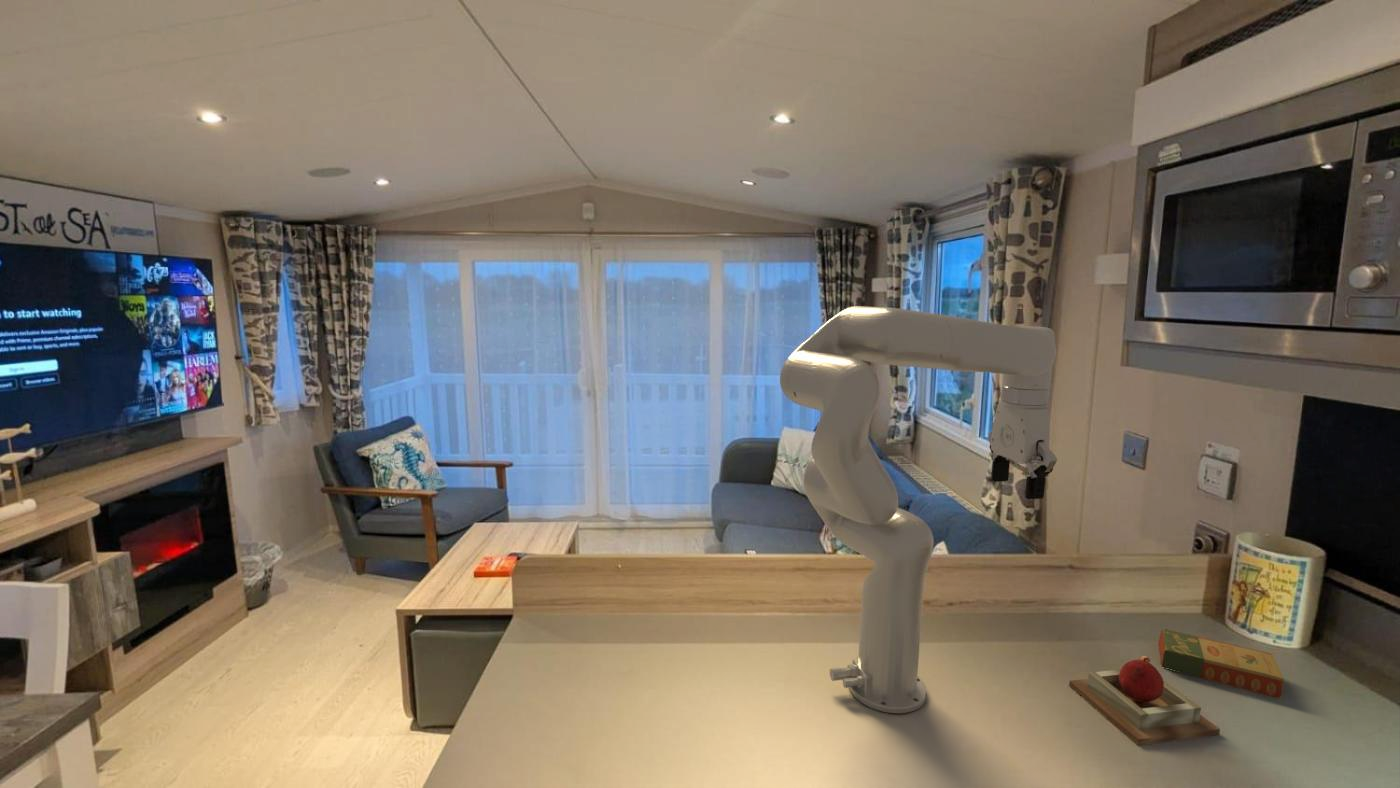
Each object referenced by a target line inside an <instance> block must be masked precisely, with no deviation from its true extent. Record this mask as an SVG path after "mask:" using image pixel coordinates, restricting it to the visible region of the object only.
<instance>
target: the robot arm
mask: <svg viewBox="0 0 1400 788" xmlns="http://www.w3.org/2000/svg"><path fill="white" fill-rule="evenodd" d="M1056 356H1057V346H1056V335H1055V332H1054V330H1053V329H1052V328H1049V327H1046V326H1037V325H1036V326H1035V325H1034V326H1033V325H1032V326H1031V325H1019V326H1016V325H1007V324H1000V323H993V322H987V321H981V320H977V319H974V318H973V319H971V318H966V317H961V316H953V315H947V314H939V313H932V312H924V311H919V310H912V309H905V308H899V307H898V308H897V307H887V306H886V307H885V306H884V307H882V306H866V305H864V306H863V305H854V306H849V307H846V308H845V309H842V310H841V311H840V312H838V313H837V314H835V315H834V316H833V317H831V318H830V319H829V320H827V321H826V322H825V323H824V324H823V325H822V326H820V327H819V329H817V330H816V331H814V333H812V335H811V336H810V337H808V338H807V339H806V340H805V341H804V342H802V343H801V344H800V345H799V346H798V347H796V349H795V350H794V351H792V353H791V354H790V355H789V356H788V358H787V359H786V360H785V362H784V363H783V365H782V368H781V371H780V374H779V384H780V388H781V391H782V393H783V395H785V397H786V398H787V399H788V400H789V401H791V402H792V403H794V404H797V405H799V406H802V407H805V408H809V409H813V410H817V411H818V412H819V411H820V412H822V413H821V416H820V417H819V421H818V424H817V426H816V429H815V432H814V436H813V437H812V442H811V445H810V446H811V455H812V458H811V459H810V460H809V462H808V463H807V465H806V467H805V471H804V475H803V487H804V491H805V494H806V497H807V499H808V500H809V502H810V504H811V506H812V507H813V508H814V510H815V511H816V512H817V514H818V515H819V517H820V518H821V519H822V521H823V523H824V524H825V525H826V527H827V528H828V530H829V531H830V533H831V534H832V536H834V538H835V539H836V540H837V541H838V542H840V543H841V544H843V545H844V546H845V547H847V548H849V549H851V550H853V551H855V552H856V553H858V554H860V555H862V556H863V557H865V558H867V559H869V560H870V561H871V562H872V564H873V568H872V570H871V571H870V572H869V574H868V575H867V576H866V577H865V578H864V580H863V583H862V588H861V597H860V600H861V601H860V622H859V641H858V657H852V664H848V665H847V667H836V668H835V667H834V668H832V667H831V668H830V669H829V676H830V679H831V681H833V682H835V681H842V686H843V688H844V689H846V688H847V689H849V691H850V693H851V695H852V696H853V697H854V698H855V699H856V700H858V701H859V702H860V703H861V704H863V705H865V706H867V707H869V708H870V709H874V710H875V711H878V712H879V711H880V712H883V713H889V714H905V713H906V714H907V713H911V712H914V711H917V710H918V709H920V708H921V707H923V705H924V704H925V702H926V699H927V687H926V685H925V683H924V681H923V680H922V679H921V677H919V675H918V673H919V671H918V670H919V656H920V655H919V654H920V645H921V644H920V642H921V640H920V639H921V626H922V614H923V613H922V612H923V599H924V586H925V580H926V576H927V572H928V569H929V568H928V567H929V564H930V560H931V557H932V554H933V550H934V535H933V533H932V530H931V528H930V527H929V525H928V524H927V523H926V522H925V521H924V520H922V519H921V518H920V517H919V516H917V515H916V514H913V513H911V512H909V511H907V510H905V509H902V508H900V507H899V496H898V494H899V493H898V490H897V488H896V486H895V483H894V480H893V479H892V477H891V476H890V475H889V473H888V471H887V470H886V467H885V466H884V465H883V463H882V461H881V460H880V457H879V456H878V454H877V453H876V451H875V449H874V448H873V445H872V443H871V441H870V438H869V429H870V424H871V421H872V418H873V415H874V413H875V410H876V407H877V405H878V402H879V397H880V388H881V385H880V380H879V378H878V375H877V372H876V371H875V369H873V367H872V366H871V365H869V364H868V363H866V362H870V363H875V364H880V365H888V366H897V367H912V368H921V369H932V370H940V371H941V370H943V371H951V372H952V371H953V372H966V373H969V372H970V373H971V372H972V373H973V372H974V373H975V372H976V373H991V374H1002V384H1001V393H1000V394H1001V396H1000V400H999V401H998V403H997V407H996V411H995V415H994V419H993V424H992V431H991V432H989V433H988V434H987V435H988V441H989V449H990V451H991V455H990V458H991V460H992V466H991V477H990V478H991V480H990V481H992V482H997V483H998V482H1008V480H1009V476H1010V475H1009V474H1010V465H1011V462H1010V461H1012V462H1014V463H1016V464H1018V465H1025V466H1026V469H1027V472H1028V474H1029V475H1028V476H1027V477H1026V482H1025V492H1024V498H1025V499H1027V500H1040V499H1041V500H1042V499H1043V498H1044V497H1045V496H1044V495H1045V490H1046V487H1045V486H1046V479H1047V478H1048V477H1049V476H1050V474H1051V473H1052V472H1053V470H1054V467H1055V466H1056V463H1057V462H1058V458H1057V456H1056V455H1055V454H1054V453H1053V451H1052V450H1051V449H1050V428H1051V427H1050V425H1051V423H1050V412H1049V403H1050V392H1051V383H1052V372H1053V371H1052V370H1053V364H1054V362H1055V361H1056ZM1035 465H1036V466H1037V468H1036V467H1035Z"/></svg>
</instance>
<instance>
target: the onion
mask: <svg viewBox="0 0 1400 788" xmlns="http://www.w3.org/2000/svg"><path fill="white" fill-rule="evenodd" d="M1150 662H1151V659H1150V658H1149V657H1148V656H1147V655H1141V656H1140V657H1139V659H1138V658H1137V659H1133V660H1130V661H1128V662H1125V663H1124V664H1123V665H1122V667H1121V671H1120V674H1119V681H1120V684H1121V686H1122V689H1123V690H1124V692H1125V693H1126V694H1127V695H1128V696H1129V697H1131V698H1132V699H1133V700H1135V701H1136V702H1138V703H1143V702H1150V701H1154V700H1156V699H1157V698H1159V697H1160V696H1161V695H1162V692H1163V687H1164V682H1163V681H1164V679H1163V676H1162V675H1161V673H1160V672H1159V670H1158V669H1157V668H1156V667H1155V666H1154V665H1153V664H1152V663H1150Z"/></svg>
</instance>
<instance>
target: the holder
mask: <svg viewBox="0 0 1400 788" xmlns="http://www.w3.org/2000/svg"><path fill="white" fill-rule="evenodd" d="M1121 669H1122V668H1121ZM1121 669H1120V668H1119V669H1112V670H1104V671H1093V672H1091V671H1090V672H1088V675H1087V676H1088V677H1087V678H1083V679H1082V678H1081V679H1073V680H1069V683H1068V686H1069V687H1070V689H1072V690H1073V691H1074V692H1075V691H1076V692H1075V693H1076V694H1078V695H1079V696H1080V695H1081V696H1082V697H1083V698H1084V699H1083V698H1082V697H1081V696H1080V697H1081V698H1082V699H1083V700H1085V701H1086V702H1087V703H1088V702H1089V703H1088V704H1089V705H1090V704H1091V705H1090V706H1092V708H1094V709H1095V710H1096V709H1097V710H1098V711H1099V713H1100V714H1101V715H1102V716H1103V715H1104V716H1103V717H1104V718H1106V719H1107V720H1108V721H1109V722H1110V723H1111V724H1112V725H1113V726H1114V727H1116V728H1117V729H1118V730H1119V731H1120V732H1121V733H1123V734H1124V735H1125V736H1126V737H1128V738H1129V740H1131V741H1132V742H1133V743H1134V744H1135V745H1137V746H1144V745H1150V744H1159V743H1167V741H1168V742H1174V741H1173V740H1176V741H1182V739H1183V740H1190V739H1189V738H1191V739H1196V738H1197V737H1199V738H1205V737H1206V736H1207V737H1213V736H1220V733H1221V728H1219V726H1217V725H1215V724H1214V723H1213V722H1211V721H1209V719H1207V718H1205V716H1203V715H1201V710H1202V707H1201V706H1199V704H1197V703H1195V702H1194V701H1192V700H1191V699H1190V698H1188V697H1187V696H1186V695H1184V694H1183V693H1181V692H1180V691H1179V690H1178V689H1176V688H1175V687H1173V686H1172V685H1171V684H1169V683H1168V682H1166V681H1164V680H1163V682H1164V687H1163V692H1162V695H1161V696H1160V697H1159V698H1157V699H1156V700H1154V701H1150V702H1143V703H1138V702H1136V701H1135V700H1133V699H1132V698H1131V697H1129V696H1128V695H1127V694H1126V693H1125V692H1124V690H1123V689H1122V686H1121V684H1120V681H1119V674H1120V671H1121ZM1097 710H1096V711H1097ZM1098 711H1097V712H1098ZM1197 739H1198V738H1197Z"/></svg>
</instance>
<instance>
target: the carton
mask: <svg viewBox="0 0 1400 788" xmlns="http://www.w3.org/2000/svg"><path fill="white" fill-rule="evenodd" d="M1157 646H1158V647H1159V648H1158V647H1157V648H1158V653H1160V654H1159V657H1160V658H1161V659H1160V663H1161V664H1160V665H1161V668H1162V667H1164V668H1163V669H1165V668H1169V669H1172V670H1171V671H1173V670H1175V671H1174V672H1176V671H1179V672H1178V673H1180V672H1181V674H1185V675H1189V676H1193V677H1196V678H1200V679H1204V680H1208V681H1211V682H1216V683H1219V684H1223V685H1226V686H1229V687H1230V686H1231V687H1234V688H1238V689H1241V690H1244V691H1245V690H1246V691H1249V692H1253V693H1258V694H1261V695H1265V696H1269V697H1272V698H1277V699H1280V700H1281V697H1282V694H1283V686H1284V677H1283V673H1282V672H1281V671H1282V670H1281V669H1280V667H1279V664H1278V663H1277V660H1276V658H1275V656H1274V654H1273V653H1270V652H1266V651H1263V650H1258V649H1254V648H1249V647H1244V646H1239V645H1235V644H1232V643H1226V642H1221V641H1218V640H1214V639H1210V638H1206V637H1201V636H1197V635H1193V634H1187V633H1183V632H1179V631H1174V630H1171V629H1170V630H1169V629H1168V628H1167V629H1166V628H1161V630H1160V634H1159V638H1158V643H1157ZM1169 669H1168V670H1169Z"/></svg>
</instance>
